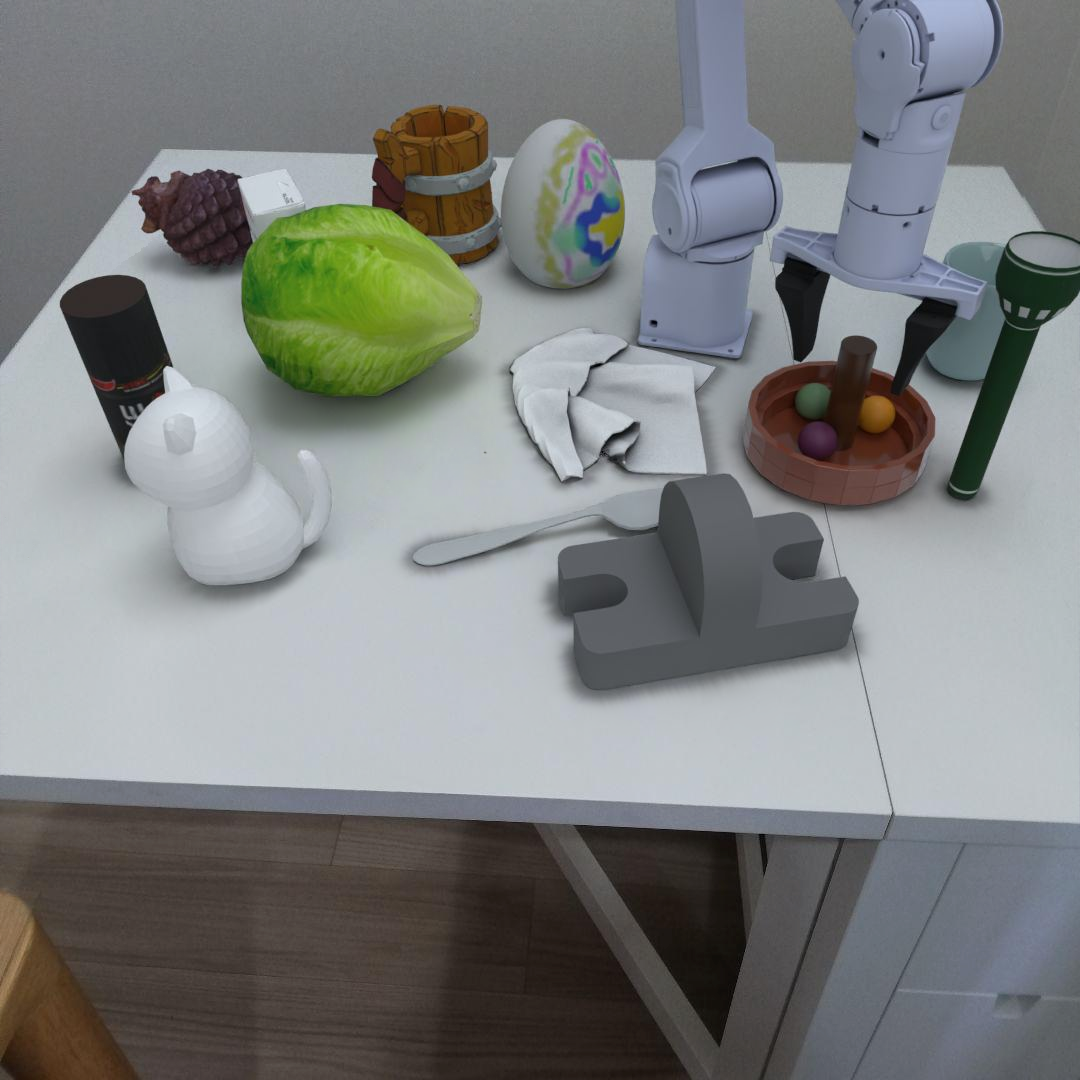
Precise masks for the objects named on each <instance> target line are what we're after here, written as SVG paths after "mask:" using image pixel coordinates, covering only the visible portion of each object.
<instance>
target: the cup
mask: <svg viewBox="0 0 1080 1080" xmlns="http://www.w3.org/2000/svg"><path fill="white" fill-rule="evenodd" d="M1006 244H1007V243H1001V242H994V241H970V242H969V241H968V242H963V243H959V244H956V245H953V247H951V248H949V250H948V251H947V252H946V253H945V255H944V257H943V259H942V263H943V264H945V265H947V266H949V267H951V268H953V269H955V270H957V271H959V272H962V273H964V274H966V275H968V276H971V277H974V278H976V279H980V280H983V281H986V282H988V284H987V287H986V291H985V294H984V297H983V300H982V303H981V306H980V308H979V309H978V311H977V312H976V314H975V315H974V316H973V317H972V319H971V320H967V319H964V318H961V317H958V316H956V318H955V319H954V320H953V322H952V323H951V324H950V325H949V327H948V328H947V329H946V330H945V332H944V333H943V334H942V335H941V336H940V337H939V338H938V339H937V340H936V341H935V342H934V343H933V344H932V345H931V346H930V347H929V349H928V350H927V352H926V353H925V355H926V357H927V360H928V362H929V363H930V365H931V366H932V368H933V369H935V370H936V371H937V372H938V373H940V374H941V375H943V376H945V377H948V378H951V379H955V380H958V381H970V382H971V381H981V380H984V378H985V375H986V372H987V370H988V367H989V364H990V361H991V358H992V355H993V352H994V349H995V347H996V344H997V341H998V338H999V335H1000V332H1001V329H1002V326H1003V323H1004V321H1005V316H1004V313H1003V311H1002V309H1001V307H1000V305H999V303H998V301H997V296H996V282H995V275H996V271H997V268H998V265H999V262H1000V259H1001V256H1002V253H1003V250H1004V248H1005V247H1006Z"/></svg>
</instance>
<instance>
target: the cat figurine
mask: <svg viewBox="0 0 1080 1080" xmlns="http://www.w3.org/2000/svg"><path fill="white" fill-rule="evenodd" d="M173 367H174V366H173ZM173 367H169V366H166V367H165V368H164V370H163V373H164V386H165V394H163V395H161V396H160V397H158V398H156V399H155V400H154V401H153V402H151V403H150V404H149V405H148V406H147V407H146V408H145V409H144V411H143V412H142V413H141V415H140V416H139V417H138V418H137V420H136V422H135V423H134V425H133V427H132V428H131V430H130V432H129V435H128V438H127V441H126V444H125V451H124V459H123V462H124V461H125V462H124V469H125V471H126V473H127V476H128V478H129V479H130V481H131V482H132V484H133V485H134V486H135V487H137V488H138V489H139V490H140V491H141V492H142V493H144V494H145V496H147V497H148V498H150V499H152V500H153V501H155V502H157V503H159V504H161V505H164V506H166V507H167V517H166V519H167V520H166V522H167V530H168V535H169V539H170V543H171V546H172V548H173V551H174V553H175V556H176V558H177V561H178V562H179V564H180V566H181V567H182V569H183V570H184V571H185V573H186V574H187V575H188V576H189V577H190V578H192V579H193V580H194V581H196V582H198V583H200V584H202V585H209V586H231V585H242V584H252V583H258V582H262V581H267V580H270V579H272V578H275V577H277V576H280V575H281V574H283V573H284V572H287V570H288V569H290V568H291V567H292V566H293V565H294V564H295V562H296V560H297V559H298V557H299V556H300V554H301V552H302V550H304V549H306V548H308V547H310V546H311V545H313V544H314V543H315V542H317V541H318V539H319V538H320V537H321V536H322V534H323V533H324V531H325V529H326V528H327V525H328V522H329V520H330V516H331V512H332V511H331V510H332V498H333V497H332V495H333V494H332V493H333V491H332V485H331V484H332V483H331V480H330V478H329V477H330V476H329V473H328V472H327V471H328V470H327V469H326V467H325V466H324V464H323V462H322V460H321V459H320V458H319V457H318V456H317V455H316V454H315V453H313V452H312V451H310V450H308V449H300V450H299V451H298V452H297V454H296V455H297V456H296V460H297V463H298V466H299V467H300V469H301V471H302V474H303V475H304V477H305V479H306V481H307V483H308V485H309V488H310V491H311V492H310V493H311V499H312V500H311V509H310V512H309V515H308V517H307V520H306V522H305V523H304V522H303V514H302V510H301V506H300V505H299V502H298V501H297V499H296V497H295V495H294V494H292V492H291V491H290V490H289V489H288V488H287V486H286V485H285V484H284V483H283V482H282V481H281V480H280V478H278V477H277V476H276V475H275V474H274V473H272V471H271V470H269V469H268V468H267V467H266V466H264V465H262V464H260V463H259V462H257V461H255V452H256V450H255V444H254V439H253V436H252V433H251V430H250V429H249V426H248V424H247V423H246V421H245V419H244V417H243V416H242V415H241V413H240V411H239V410H238V409H237V408H236V407H235V406H234V404H232V403H231V402H230V401H229V400H228V399H227V398H225V397H224V396H223V395H222V394H220V393H218V392H216V391H214V390H211V389H208V388H204V387H201V386H200V387H199V386H195V385H194V383H193V382H192V381H191V380H190V379H189V378H188V377H187V376H186V375H184V374H183V373H182V372H180V371H179V370H178V369H176V368H175V367H174V368H173Z"/></svg>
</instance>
